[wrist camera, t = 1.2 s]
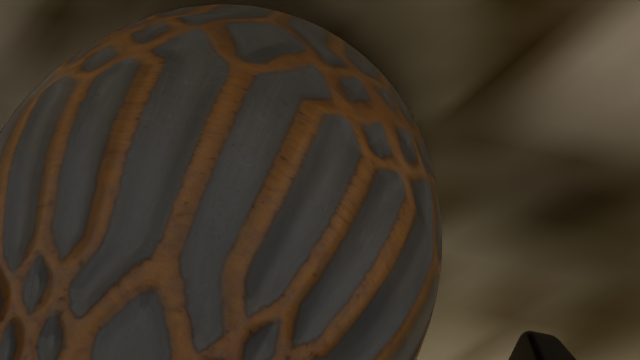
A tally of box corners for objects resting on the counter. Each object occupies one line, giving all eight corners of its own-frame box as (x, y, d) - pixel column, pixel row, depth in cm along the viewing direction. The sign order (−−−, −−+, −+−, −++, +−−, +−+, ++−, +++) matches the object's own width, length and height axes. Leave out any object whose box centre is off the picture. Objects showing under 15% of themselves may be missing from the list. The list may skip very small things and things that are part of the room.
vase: (236, -121, 10) (-326, 10, 2) (502, 131, 11) (686, 673, 4) (63, 135, 13) (-405, 537, 5) (291, 301, 15) (175, 777, 7)
